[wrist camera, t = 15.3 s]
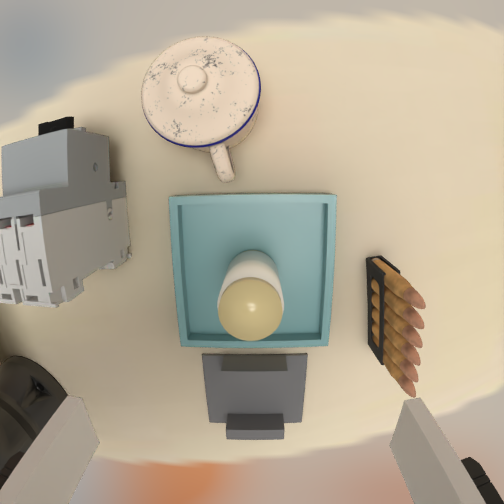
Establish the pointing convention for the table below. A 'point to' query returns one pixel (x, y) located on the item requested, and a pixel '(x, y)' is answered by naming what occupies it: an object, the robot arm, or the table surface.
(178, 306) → the parts tray
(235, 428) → the grey square holder base
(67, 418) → the robot arm
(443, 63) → the table surface
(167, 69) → the teacup with lid
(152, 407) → the table surface
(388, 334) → the ammunition clip
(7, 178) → the circuit breaker
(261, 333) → the cylinder
